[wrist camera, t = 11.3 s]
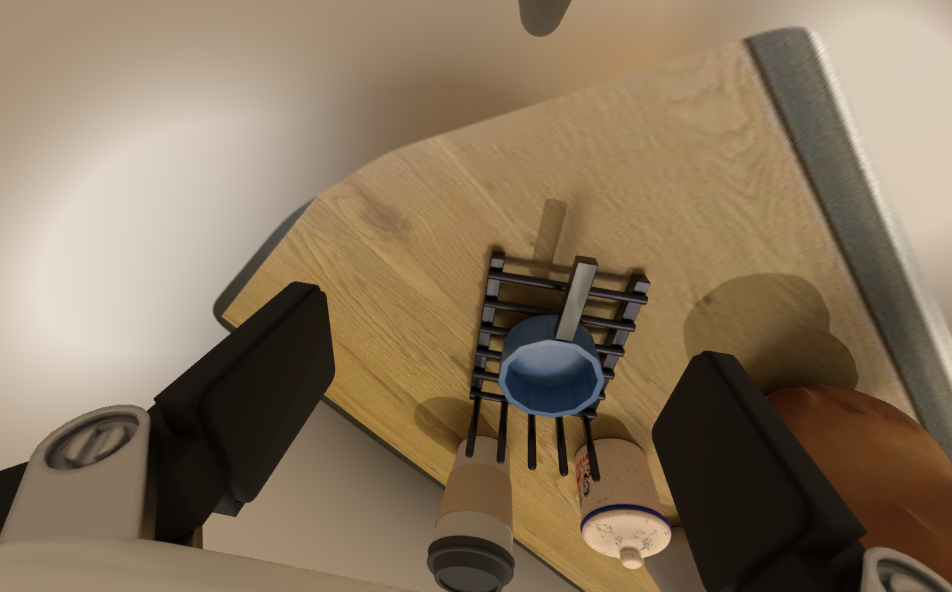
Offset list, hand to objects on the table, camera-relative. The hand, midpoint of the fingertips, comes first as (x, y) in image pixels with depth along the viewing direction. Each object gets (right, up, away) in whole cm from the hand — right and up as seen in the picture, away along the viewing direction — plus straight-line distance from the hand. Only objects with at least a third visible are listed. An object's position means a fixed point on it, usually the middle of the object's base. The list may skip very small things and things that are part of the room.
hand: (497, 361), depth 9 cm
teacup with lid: (+16, -20, +37) cm, 45 cm away
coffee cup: (0, -19, +38) cm, 43 cm away
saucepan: (+7, -1, +24) cm, 25 cm away
